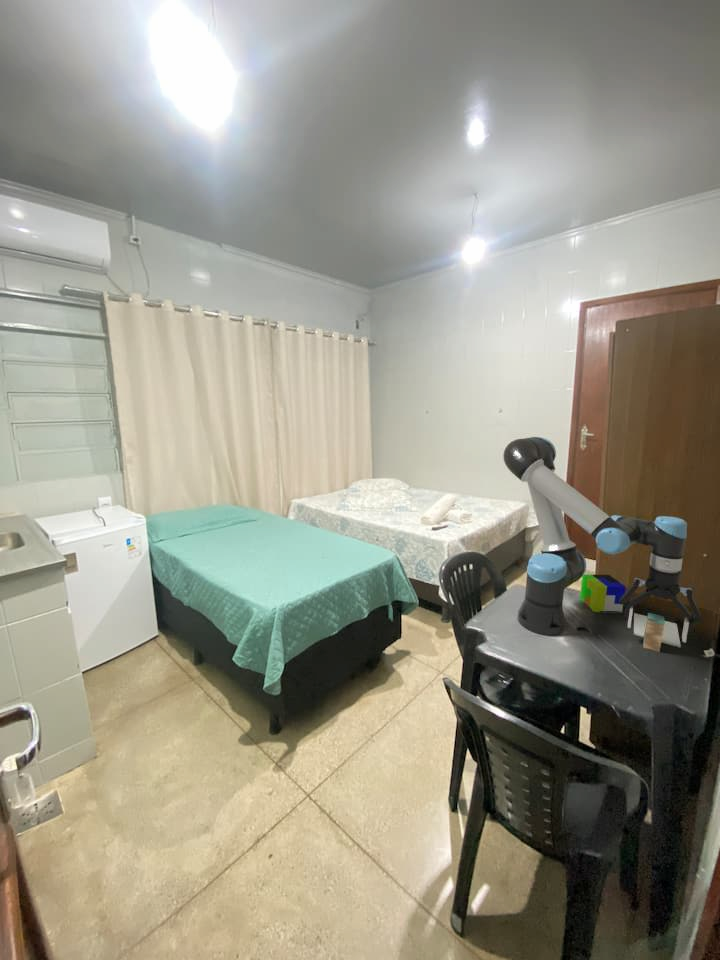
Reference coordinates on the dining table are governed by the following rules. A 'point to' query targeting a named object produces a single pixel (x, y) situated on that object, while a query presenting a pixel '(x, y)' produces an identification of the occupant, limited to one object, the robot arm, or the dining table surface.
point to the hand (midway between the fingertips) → (655, 632)
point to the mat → (669, 631)
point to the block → (653, 632)
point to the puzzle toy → (602, 592)
